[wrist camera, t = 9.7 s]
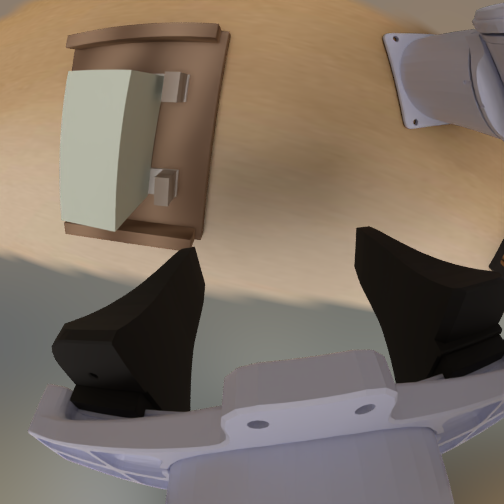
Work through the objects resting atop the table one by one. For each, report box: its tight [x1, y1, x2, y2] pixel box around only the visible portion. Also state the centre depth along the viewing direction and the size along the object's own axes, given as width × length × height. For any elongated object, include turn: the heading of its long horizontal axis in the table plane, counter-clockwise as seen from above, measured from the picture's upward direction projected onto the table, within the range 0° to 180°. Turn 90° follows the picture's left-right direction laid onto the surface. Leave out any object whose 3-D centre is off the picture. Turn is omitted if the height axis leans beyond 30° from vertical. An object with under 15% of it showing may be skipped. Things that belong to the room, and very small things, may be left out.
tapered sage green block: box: [60, 70, 164, 232], centre depth 15 cm, size 4×9×6 cm, turn 166°
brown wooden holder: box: [64, 23, 230, 250], centre depth 17 cm, size 12×16×4 cm
